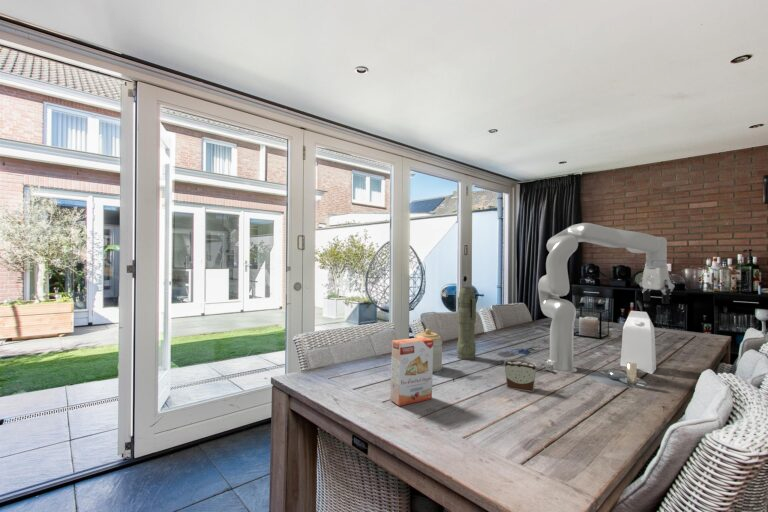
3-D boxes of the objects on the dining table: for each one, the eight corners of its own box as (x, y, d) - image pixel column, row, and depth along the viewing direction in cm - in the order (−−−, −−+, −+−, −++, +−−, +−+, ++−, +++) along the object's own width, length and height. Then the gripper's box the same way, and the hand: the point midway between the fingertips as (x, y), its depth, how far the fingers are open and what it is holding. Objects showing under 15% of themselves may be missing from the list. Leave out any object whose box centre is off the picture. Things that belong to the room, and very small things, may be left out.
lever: (604, 375, 152) (604, 355, 152) (618, 375, 152) (618, 355, 152) (627, 385, 139) (627, 364, 139) (642, 385, 140) (642, 364, 140)
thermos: (469, 361, 177) (470, 288, 177) (451, 356, 186) (452, 286, 187) (481, 358, 182) (482, 287, 182) (463, 353, 191) (464, 286, 192)
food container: (538, 387, 142) (538, 361, 142) (537, 392, 136) (537, 365, 136) (504, 382, 147) (505, 357, 147) (502, 387, 142) (503, 361, 142)
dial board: (610, 391, 138) (610, 387, 138) (578, 374, 158) (578, 371, 158) (660, 390, 140) (660, 386, 140) (622, 374, 160) (622, 370, 160)
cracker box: (399, 407, 121) (400, 343, 121) (389, 401, 126) (390, 339, 126) (433, 399, 128) (434, 339, 128) (422, 393, 133) (423, 335, 134)
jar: (446, 367, 167) (447, 328, 167) (434, 374, 156) (435, 332, 156) (421, 362, 174) (421, 325, 174) (407, 369, 163) (408, 329, 163)
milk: (656, 368, 169) (656, 311, 169) (652, 374, 161) (652, 314, 161) (625, 363, 177) (625, 309, 178) (620, 368, 169) (620, 311, 169)
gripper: (633, 264, 175) (633, 300, 175) (666, 264, 158) (665, 304, 158) (647, 264, 176) (647, 300, 176) (681, 264, 159) (681, 304, 159)
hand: (655, 302), depth 167 cm, fingers open, 9 cm apart
